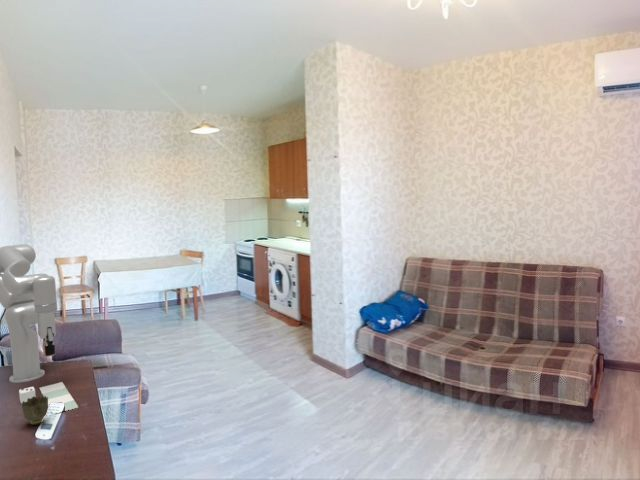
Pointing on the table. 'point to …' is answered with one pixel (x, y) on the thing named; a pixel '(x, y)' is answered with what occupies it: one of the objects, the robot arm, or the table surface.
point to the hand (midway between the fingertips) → (49, 352)
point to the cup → (35, 409)
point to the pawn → (44, 349)
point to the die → (26, 394)
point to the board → (59, 395)
